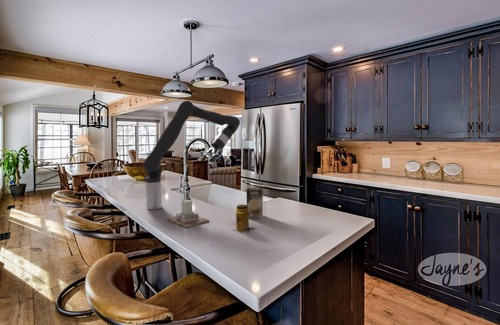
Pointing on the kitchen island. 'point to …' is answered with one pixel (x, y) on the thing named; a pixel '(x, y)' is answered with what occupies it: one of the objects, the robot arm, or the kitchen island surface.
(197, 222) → the board
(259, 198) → the coffee box
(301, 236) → the kitchen island surface
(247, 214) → the condiment
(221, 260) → the kitchen island surface
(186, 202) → the post
